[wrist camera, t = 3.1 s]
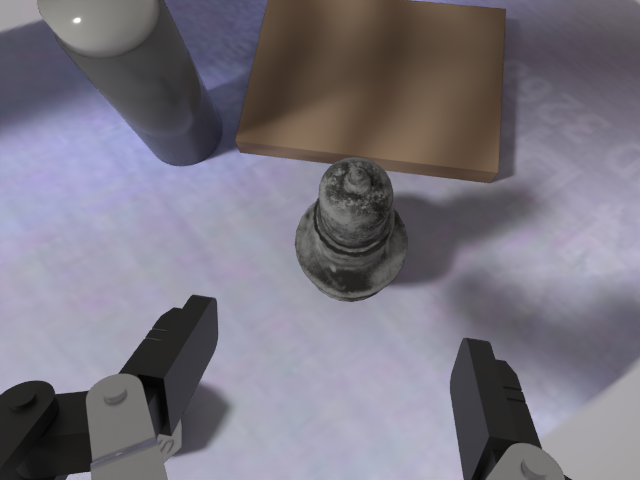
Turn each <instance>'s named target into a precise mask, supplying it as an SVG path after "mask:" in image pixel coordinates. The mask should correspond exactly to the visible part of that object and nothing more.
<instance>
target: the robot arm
mask: <svg viewBox="0 0 640 480" xmlns="http://www.w3.org/2000/svg"><path fill="white" fill-rule="evenodd" d="M217 341H218V317H217V301H216V299H215V298H212V297H206V296H199V295H192V296H191V297H190V298H189V299H188V301H187V302H186V304H185V305H184V307H183V308H182V309H181V308H175V307H174V308H172V309H171V310H169V311H168V312H166V313H165V314H163V315H162V316H161V317H160V318H159V319H158V321H157V322H156V323H155V325H154V326H153V327H152V330H150V332H149V333H148V334H147V336H146V338H145V339H144V340H143V341H142V342H141V344H140V345H139V346H138V348H137V349H136V351H135V352H134V353H133V355H132V356H131V357H130V359H129V360H128V361H127V363H126V364H125V365H124V367H123V368H122V370H121V371H120V372H119V373H118V374H115V375H111V376H108V377H106V378H104V379H102V380H100V381H99V382H97V383H96V384H95V385H94V386H93V387H92V388H91V389H90V390H89V391H83V392H74V393H64V394H55V391H54V389H53V387H52V385H50V384H49V383H47V382H44V381H28V382H24V383H21V384H18V385H16V386H14V387H12V388H10V389H8V390H6V391H5V392H4V393H2V394H1V395H0V480H66V478H67V476H68V475H69V474H75V473H83V472H90V471H91V478H92V480H168V478H167V474H166V470H165V466H164V462H163V458H162V455H161V451H160V447H159V443H158V440H157V437H158V435H159V434H161V435H167V436H172V435H173V433H174V431H175V429H176V427H177V425H178V423H179V421H180V419H181V417H182V415H183V413H184V411H185V409H186V407H187V405H188V403H189V401H190V399H191V397H192V395H193V393H194V391H195V389H196V387H197V385H198V383H199V381H200V379H201V377H202V375H203V373H204V371H205V369H206V367H207V365H208V363H209V361H210V359H211V358H212V356H213V354H214V351H215V349H216V345H217ZM521 390H522V389H521V386H520V383H519V380H518V377H517V374H516V373H515V372H514V371H513V370H512V368H511V367H510V366H509V365H508V364H507V362H506V361H503V360H496V359H495V357H494V354H493V350H492V347H491V344H490V342H488V341H483V340H476V339H470V338H463V340H462V342H461V345H460V348H459V351H458V354H457V358H456V361H455V364H454V367H453V370H452V374H451V380H450V394H451V400H452V407H453V413H454V420H455V426H456V433H457V439H458V445H459V452H460V458H461V465H462V471H463V478H464V480H572V479H570V478H568V477H567V476H565V475H564V474H563V471H562V470H561V468H560V466H559V465H558V463H557V462H556V461H555V460H554V459H553V458H552V457H551V456H550V455H549V454H548V453H546V452H545V451H544V450H542V447H541V444H540V441H539V439H538V436H537V433H536V430H535V427H534V424H533V421H532V418H531V415H530V412H529V409H528V406H527V404H526V403H525V402H526V401H525V398H524V395H523V392H521Z"/></svg>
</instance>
